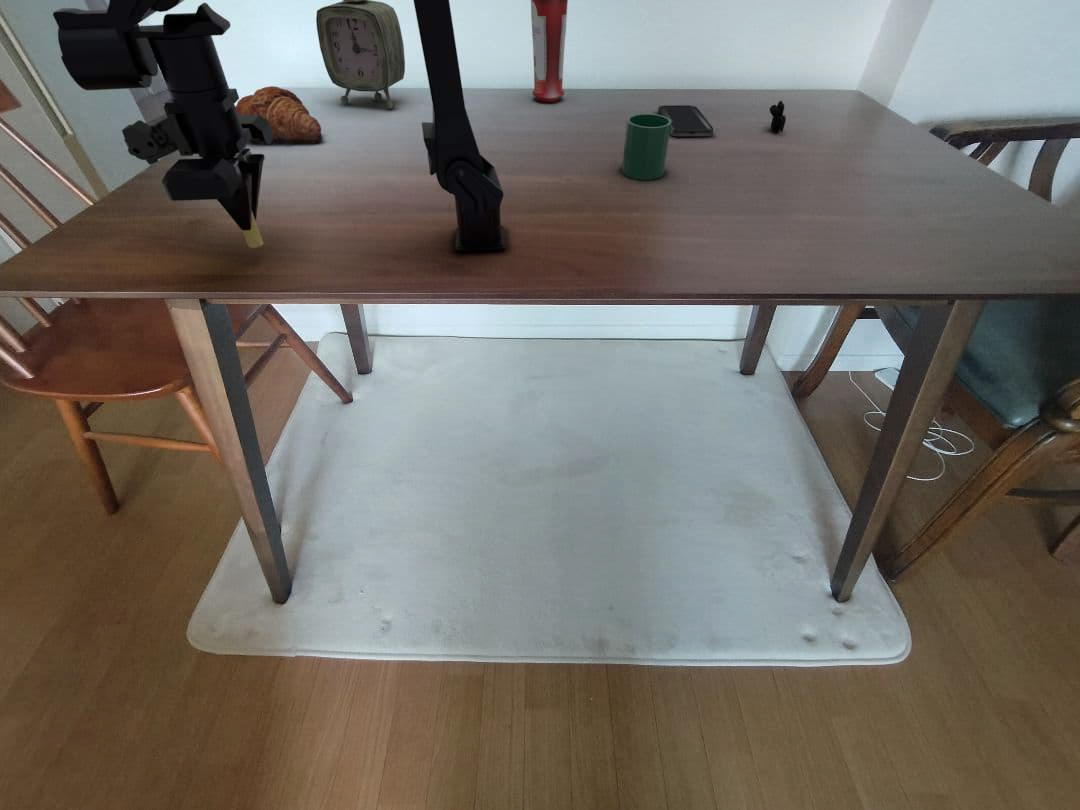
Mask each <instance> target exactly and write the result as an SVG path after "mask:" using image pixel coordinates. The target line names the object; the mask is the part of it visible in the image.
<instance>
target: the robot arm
mask: <svg viewBox="0 0 1080 810" xmlns="http://www.w3.org/2000/svg"><path fill="white" fill-rule="evenodd" d="M183 2H185V0H109V2H108V6H107V9H81V8H77V7H76V8H74V7H68V8H67V7H65V8H60V9H57V10H55V11H53V13H52V16H53V18H54V20H55V23H56V24H57V27H58V29H57V39H58V41H57V42H58V45H59V49H60V53H61V55H60V58H61V61H62V63H63V65H64V67H65V69H66V71H67V72H68V74H69V76H70V77H71V79H72V80H73V82H75V83H76V85H78V86H79V87H80V88H81V89H83V90H85V91H106V90H128V89H129V90H130V89H145V88H146V89H149V88H150V87H151V85H152V81H153V77H157V76H158V73H159V71H160V74H161V76H162V79H163V81H164V84H165V86H166V89H167V92H168V93H169V96H170V98H169V99H168V100H166V101H165V102H164V105H163V110H164V112H165V113H164V114H162V115H160V116H157V117H155V118H153V119H150V120H149V121H147V122H145V121H143V120H141V119H138V120H137V121H135V122H134V123H132V124H128V125H127V126H125V127H123V129H121V133H122V135H123V138H124V139H123V141H124V143H125V144H126V146H127V151H128V153H129V154H130V155H131V156H133V157H135V158H137V159H139V160H142V161H146V163H147V164H148V165H150V166H151V165H154V164H156V163H158V162H159V160H160V159H163V158H164V157H166V156H168V155H171V154H173V153H175V152H177V151H178V152H179V155H180V157H191V156H192V157H193V155H198V157H199V158H179V159H177V161H176V162H175V163H174V164H172V166H171V167H170V168H169V169H167V170H166V172H165V174H164V176H163V178H162V179H161V183H162V185H163V188H164V190H165V193H166V194H167V196H168V199H170V200H171V201H172V202H178V201H179V202H180V201H182V202H183V201H207V200H208V201H210V200H216V201H217V202H218V203H219V204H220V205H221V206H222V208H223V209H224V210H225V211H226V213H227V214H228V215H229V216H230V217H231V219H232V220H233V221H234V223H235V224H236V225H237V226H238V228H239V229H240V231H241V230H251V226H252V212H253V215H254V218H255V221H256V222H257V216H258V207H259V197H260V190H261V182H262V174H263V166H264V161H265V158H266V157H265V154H263V153H252V150H251V148H250V147H249V148H247V145H248V144H249V143H250V142H251V140H250V139H257V138H259V139H260V141H261V142H262V143H261V144H262V145H263V146H269V145H270V144H271V141H272V140H273V138H274V136H273V133H272V129H271V126H270V123H269V122H268V121H267V120H266V119H264V118H263V117H262V116H261V115H238V114H237V111H236V108H235V107H236V104H235V103H237V102H238V101H239V100H240V97H239V93H238V90H237V88H230V87H229V84H228V81H227V78H226V75H225V72H224V69H223V66H222V62H221V60H220V58H219V54H218V51H217V48H216V45H215V42H214V39H213V36H223V35H224V34H226V32H227V31H228V30H229V29H230V28H231V22H230V21H229V20H228V19H226V18H225V17H224V16H222V15H221V14H219V13H218V12H216V11H214V9H213V8H211V6H210V5H209V4H208V3H207V2H202V3H201V4H200V5H198V6H197V9H196V12H184V13H166V14H165V15H164V16H163V19H162V24H155V25H154V24H153V25H152V24H149V25H139V23H141V22H143V21H145V20H146V19H147V18H149V17H150V16H152V15H153V14H155V13H157V12H158V13H163V12H168V11H170V10H171V9H174V8H175V7H177V6H178V5H180V4H182V3H183ZM450 3H451V2H450V0H413V6H414V11H415V14H416V15H415V16H416V21H417V27H418V32H419V38H420V42H421V43H420V44H421V48H422V54H423V59H424V65H425V70H426V75H427V81H428V86H429V92H430V97H431V102H432V122H425V121H423V122H421V130H422V138H423V142H424V146H425V148H426V151H427V160H428V167H429V169H428V170H429V175H430V176H434V175H436V176H435V177H436V179H437V182H438V185H439V186H440V188H441V189H443V190H444V191H445V192H447V193H449V194H450V195H453V196H454V203H455V213H456V223H457V227H456V228H455V245H454V246H455V247H454V248H455V252H456V253H484V252H504V251H505V250H506V241H505V227H504V226H503V225H502V221H501V204H502V201H503V198H504V191H503V189H502V185H501V183H500V179H499V177H498V173H497V171H496V168H495V165H493V164H492V163H491V162H490V161H488V160H487V158H485V157H484V156H483V155H482V154H481V153H480V150H479V147H478V144H477V143H478V142H477V140H476V137H475V134H474V131H473V128H472V125H471V122H470V118H469V115H468V113H467V109H466V105H465V104H466V103H465V98H464V90H463V84H462V76H461V71H460V65H459V63H460V62H459V57H458V51H457V45H456V37H455V31H454V30H455V29H454V24H453V17H452V11H451V10H452V9H451V4H450Z"/></svg>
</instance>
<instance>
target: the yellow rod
mask: <svg viewBox="0 0 1080 810" xmlns="http://www.w3.org/2000/svg"><path fill="white" fill-rule="evenodd" d="M242 233H243V236H244V238H245V241H246V243H247V246H248V248H251V249H257V248H261V247H262V246H263V245H264V241H263V238H262V235H261V232H260V230H259V226H258V224H257V220H256V221H255V218H254V215H253V212H252V226H251V230H242Z"/></svg>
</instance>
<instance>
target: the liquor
mask: <svg viewBox="0 0 1080 810" xmlns="http://www.w3.org/2000/svg"><path fill="white" fill-rule="evenodd" d="M568 1H569V0H530V14H531V15H530V16H531V17H530V18H531V35H532V51H533V52H532V53H533V55H532V56H533V84H534V85H533V87H534V88H533V90H532V93H531V94H532V95H533V96H534V97H535V99H537V101H538V102H540V103H547V104H549V103H556V102H558V101H560V100H561V98H562V97H563V96H564V94H565V91H564V89H563V82H564V81H563V80H564V63H565V62H564V60H565V43H566V33H567V22H568V21H567V18H568Z"/></svg>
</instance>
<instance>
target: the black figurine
mask: <svg viewBox="0 0 1080 810" xmlns="http://www.w3.org/2000/svg"><path fill="white" fill-rule="evenodd" d="M784 112H785V104H784V103H783V100H779V101H778V102H777V104H772V105H771V106H770V107H769V113H770V114H771V117H772V119H771V123H770V128H771V130H772V132H773V133H779V132H781V133H783V132H784V129H785V126H786V125H785V124H786V122H787V117H786V115H784Z"/></svg>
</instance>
